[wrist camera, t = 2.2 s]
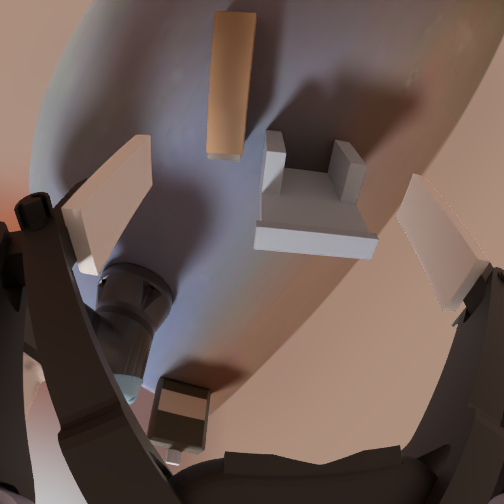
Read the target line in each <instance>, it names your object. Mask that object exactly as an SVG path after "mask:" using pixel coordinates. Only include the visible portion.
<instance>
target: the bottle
mask: <svg viewBox="0 0 504 504" xmlns="http://www.w3.org/2000/svg"><path fill="white" fill-rule="evenodd" d="M209 403H210V390H209V389H205V388H201V387H197V386H193V385H189V384H185V383H181V382H177V381H174V380H170V379H166V378H163V377H161V378H160V379H159V381H158V383H157V386H156V391H155V396H154V401H153V405H152V410H151V416H150V420H149V426H148V431H147V437H148V439H149V440H150V442H151V443H152V444H153V445H156V446H161V447H165V448H166V449H167V455H166V463H168V464H172V465H180V458H181V452H182V451H184V452H189V453H194V454H199V453H201V452H203V451H204V449H205V442H206V432H207V422H208V413H209Z"/></svg>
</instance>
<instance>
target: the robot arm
mask: <svg viewBox="0 0 504 504" xmlns="http://www.w3.org/2000/svg"><path fill="white" fill-rule="evenodd" d="M151 187H152V167H151V140H150V135H135V136H134V137H133V138H131V139H130V140H129V141H128V142H127V143H126V144H125V145H123V146H122V147H121V148H120V149H119V150H118V151H117V152H116V153H115V154H114V155H113V156H111V157H110V158H109V159H108V160H107V161H106V162H105V163H104V164H103V165H102V166H101V167H100V168H99V169H98V170H97V171H96V172H95V173H94V174H93V175H92V176H91V177H90V178H89V179H84V180H82V181H81V182H79V183H77V184H76V185H75V186H74V187H73V188H72V189H71V190H70V191H69V192H68V193H67V194H66V195H65V196H64V198H62V199H61V200H60V202H59V203H58V204H57V205H56V206H55V207H54V208H52V204H51V200H50V196H49V195H48V193H45V192H37V193H33V194H30V195H28V196H26V197H24V198H23V199H21V200H20V201H19V202H18V203H17V204H16V206H15V209H14V211H15V214H16V217H17V219H18V222H19V225H20V228H21V231H15V232H9V231H8V229H7V226H6V224H5V223H4V222H1V221H0V504H35V490H34V479H33V473H32V466H31V461H30V454H29V447H28V440H27V432H26V423H25V420H26V418H27V415H28V412H29V410H30V407H31V404H32V402H33V399H34V397H35V394H36V392H37V389H38V387H39V385H40V383H41V382H43V381H46V384H47V387H48V390H49V394H50V397H51V400H52V403H53V406H54V408H55V411H56V414H57V417H58V419H59V422H60V425H61V430H60V432H59V433H58V441H59V445H60V448H61V451H62V453H63V456H64V457H65V460H66V462H67V464H68V466H69V469H70V471H71V473H72V475H73V477H74V479H75V481H76V483H77V485H78V487H79V489H80V491H81V492H82V494H83V496H84V498H85V500H86V501H87V503H88V504H504V270H503V269H501V268H498V267H496V268H493V266H492V265H491V263H490V261H489V259H488V258H487V256H486V255H485V253H484V252H483V250H482V249H481V247H480V246H479V245H478V243H477V242H476V240H475V239H474V237H473V236H472V234H471V233H470V232H469V230H468V229H467V228H466V226H465V225H464V224H463V222H462V221H461V220H460V218H459V217H458V216H457V215H456V213H455V212H454V211H453V210H452V208H451V207H450V206H449V204H448V203H447V202H446V201H445V200H444V198H443V197H442V196H441V195H440V194H439V192H438V191H437V190H436V189H435V188H434V187H433V186H432V184H431V183H430V182H429V181H428V180H427V179H426V178H425V177H424V176H420V175H417V174H413V176H412V178H411V181H410V184H409V186H408V189H407V191H406V194H405V197H404V199H403V202H402V204H401V206H400V209H399V211H398V214H397V216H396V218H397V220H398V221H399V223H400V225H401V227H402V229H403V230H404V232H405V234H406V236H407V238H408V239H409V241H410V243H411V245H412V247H413V249H414V251H415V253H416V255H417V257H418V259H419V261H420V262H421V265H422V267H423V268H424V271H425V273H426V275H427V277H428V279H429V281H430V283H431V286H432V288H433V290H434V292H435V294H436V296H437V299H438V301H439V304H440V306H441V308H442V310H443V311H456V309H457V308H458V307H459V305H460V304H461V303H462V301H464V303H465V305H466V308H465V309H464V310H463V312H462V313H461V314H460V315H459V317H458V318H457V319H456V320H455V322H454V323H453V324H452V326H453V327H454V326H455V325H456V324H458V327H457V330H456V334H455V337H454V340H453V343H452V346H451V349H450V352H449V355H448V358H447V360H446V364H445V366H444V369H443V371H442V374H441V376H440V379H439V381H438V384H437V386H436V389H435V391H434V393H433V396H432V398H431V400H430V403H429V405H428V407H427V409H426V411H425V414H424V416H423V418H422V420H421V422H420V424H419V426H418V428H417V430H416V432H415V434H414V436H413V437H412V439H411V441H410V442H409V443H408V445H407V446H406V447H405V448H404V449H403V450H401V449H400V445H398V446H392V447H387V448H379V449H373V450H364V451H362V452H359V453H356V454H353V455H350V456H348V457H345V458H342V459H339V460H336V461H333V462H330V463H327V464H323V465H317V464H312V463H307V462H302V461H298V460H293V459H289V458H285V457H281V456H277V455H273V454H251V453H250V454H249V453H237V452H225V454H224V458H220V459H213V460H209V461H205V462H201V463H198V464H195V465H192V466H190V467H188V468H186V469H184V470H181V471H180V472H178V473H177V474H175V475H173V474H172V472H171V471H170V469H169V468H168V467H167V465H166V464H165V462H164V461H163V459H162V458H161V456H160V455H159V453H158V452H157V450H156V449H155V448H154V446H153V445H152V443H151V442H150V440H149V439H148V437H147V436H146V434H145V432H144V431H143V429H142V427H141V426H140V424H139V422H138V421H137V419H136V417H135V415H134V413H133V412H132V410H131V408H130V406H129V404H131V403H133V402H134V401H135V400H136V399H137V396H138V393H139V390H140V388H141V385H142V383H143V376H144V372H145V368H146V363H147V359H148V355H149V351H150V347H151V343H152V340H153V336H154V334H155V332H156V331H157V330H158V328H159V327H160V326H161V324H162V323H163V322H164V320H165V319H166V318H167V316H168V315H169V312H170V309H171V306H172V301H173V299H172V293H171V291H170V289H169V287H168V286H167V284H166V283H165V282H164V281H163V280H162V279H161V278H160V277H159V276H158V275H156V274H155V273H153V272H152V271H150V270H148V269H146V268H144V267H141V266H138V265H134V264H127V263H121V264H115V265H112V266H110V267H108V268H107V269H106V270H105V271H104V272H103V274H102V276H101V278H100V280H99V282H98V287H97V298H96V310H95V311H94V310H93V309H92V308H90V307H89V306H88V305H86V304H85V303H84V302H83V300H82V297H81V294H80V292H79V289H78V286H77V282H76V279H75V276H74V273H73V271H72V267H73V266H74V264H75V262H76V261H77V263H78V266H79V269H80V272H81V273H85V274H91V275H97V276H98V275H99V273H100V271H101V270H102V268H103V266H104V264H105V262H106V260H107V259H108V257H109V255H110V253H111V252H112V250H113V248H114V246H115V245H116V243H117V241H118V239H119V238H120V236H121V234H122V233H123V231H124V229H125V228H126V226H127V224H128V223H129V221H130V219H131V218H132V216H133V215H134V213H135V211H136V210H137V208H138V207H139V205H140V203H141V202H142V200H143V199H144V197H145V196H146V194H147V193H148V191H149V190H150V188H151Z"/></svg>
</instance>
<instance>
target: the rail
mask: <svg viewBox="0 0 504 504" xmlns="http://www.w3.org/2000/svg"><path fill="white" fill-rule="evenodd" d="M256 23H257V15H256V13H249V12H230V11H215V16H214V27H213V39H212V52H211V66H210V82H209V100H208V121H207V148H206V153H208V159H214V160H228V161H240V159H241V155H242V154H243V148H244V142H245V134H246V123H247V112H248V101H249V91H250V81H251V71H252V61H253V51H254V42H255V32H256Z"/></svg>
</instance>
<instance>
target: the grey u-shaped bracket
mask: <svg viewBox="0 0 504 504" xmlns="http://www.w3.org/2000/svg"><path fill="white" fill-rule="evenodd" d="M285 158H286V150H285V145H284V140H283V136H282V132H280V131H272V130H266V133H265V141H264V150H263V158H262V167H261V175H260V221H256V229H255V238H254V249H258V250H269V251H280V252H291V253H303V254H314V255H325V256H336V257H347V258H358V259H369V260H370V259H371V257H372V255H373V252H374V250H375V248H376V245H377V243H378V240H379V239H378V237H377V235H376V233H369V231H368V228H367V226H366V224H365V222H364V220H363V218H362V216H361V214H360V212H359V210H358V207H357V205H356V203H357V200H358V197H359V193H360V190H361V187H362V183H363V180H364V176H365V173H366V169H367V165H366V163H365V162H364V161H363V159H362V158H361V157H360V155H359V154H358V153H357V152H356V150H355V149H354V148H353V146H352V145H351V144H350V143H349V142H346V141H340V140H335V141H334V145H333V150H332V155H331V159H330V164H329V168H328V173H322V172H315V171H308V170H300V169H292V168H284V165H285Z"/></svg>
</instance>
